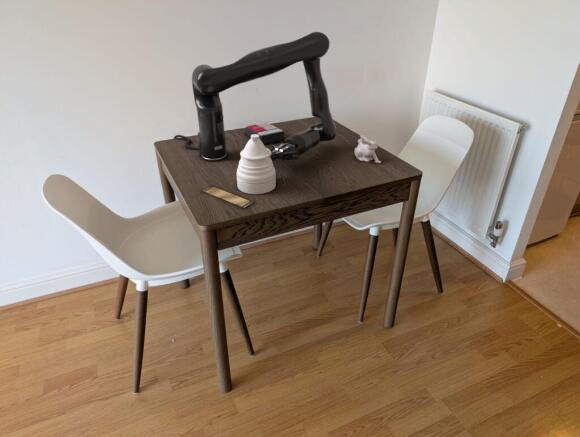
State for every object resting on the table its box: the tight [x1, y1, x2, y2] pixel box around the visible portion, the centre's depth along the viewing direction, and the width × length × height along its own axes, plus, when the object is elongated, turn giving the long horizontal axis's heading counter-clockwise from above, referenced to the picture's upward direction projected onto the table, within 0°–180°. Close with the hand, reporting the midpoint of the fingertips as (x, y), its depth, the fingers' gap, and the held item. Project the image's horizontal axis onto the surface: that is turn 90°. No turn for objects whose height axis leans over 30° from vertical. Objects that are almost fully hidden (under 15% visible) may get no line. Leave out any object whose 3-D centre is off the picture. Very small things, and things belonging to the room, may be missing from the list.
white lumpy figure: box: [354, 134, 382, 164], centre depth 158 cm, size 12×8×10 cm, turn 32°
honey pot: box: [236, 134, 277, 195], centre depth 138 cm, size 13×13×18 cm
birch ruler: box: [203, 185, 254, 209], centre depth 135 cm, size 18×4×1 cm, turn 53°
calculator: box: [244, 122, 285, 145], centre depth 180 cm, size 11×4×15 cm
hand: (267, 159), depth 142 cm, fingers closed
